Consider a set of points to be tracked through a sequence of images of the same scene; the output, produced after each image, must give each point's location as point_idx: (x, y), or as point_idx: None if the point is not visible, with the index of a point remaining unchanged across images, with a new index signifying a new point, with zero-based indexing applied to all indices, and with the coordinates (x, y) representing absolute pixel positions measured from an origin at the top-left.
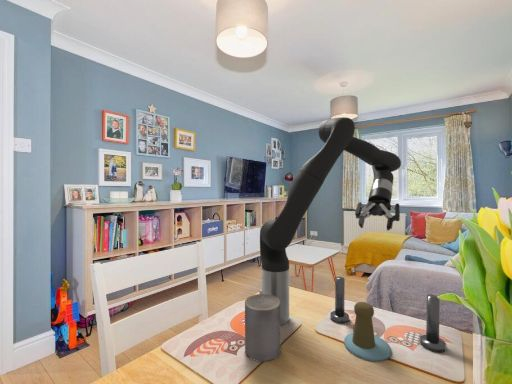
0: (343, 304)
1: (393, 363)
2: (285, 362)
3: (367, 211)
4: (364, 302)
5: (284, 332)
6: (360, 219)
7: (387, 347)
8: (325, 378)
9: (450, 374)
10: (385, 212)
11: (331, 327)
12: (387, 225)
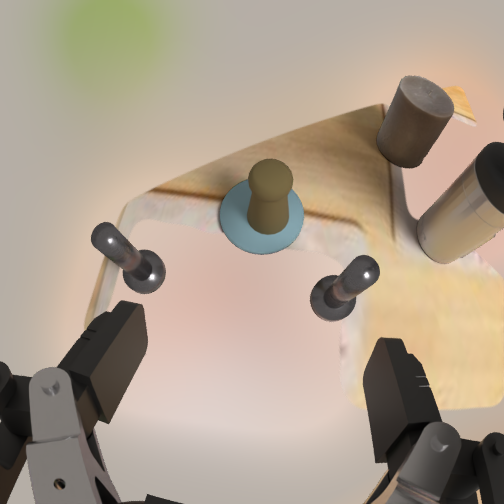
0: (331, 285)
1: (218, 190)
2: (361, 135)
3: (387, 496)
4: (270, 180)
5: (403, 199)
6: (421, 400)
7: (225, 218)
8: (304, 127)
9: (141, 202)
10: (80, 442)
11: (338, 254)
12: (129, 306)
